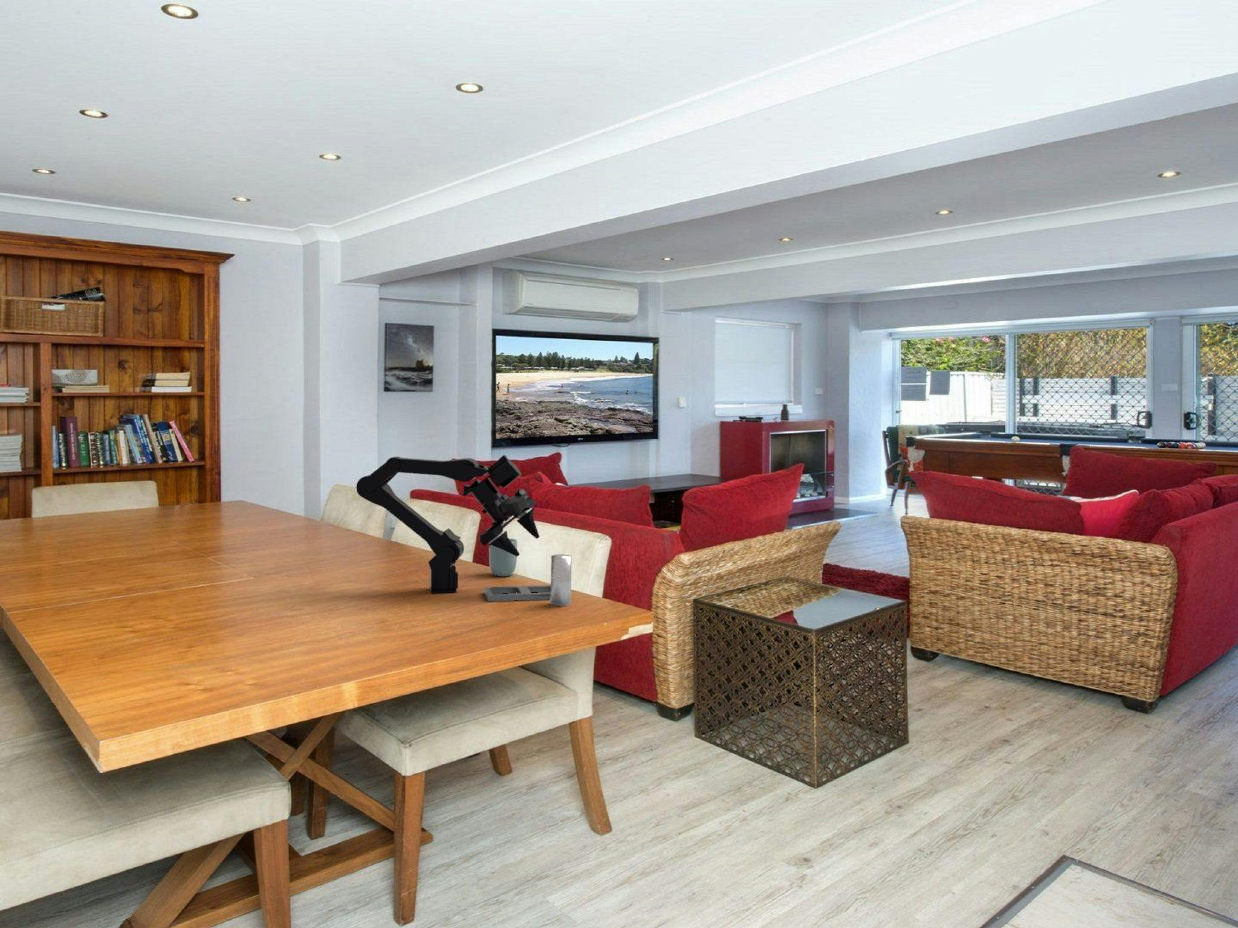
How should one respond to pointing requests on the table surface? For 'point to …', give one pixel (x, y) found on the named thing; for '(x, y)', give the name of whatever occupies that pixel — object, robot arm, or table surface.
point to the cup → (502, 560)
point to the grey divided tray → (521, 594)
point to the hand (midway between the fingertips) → (528, 546)
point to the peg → (560, 580)
